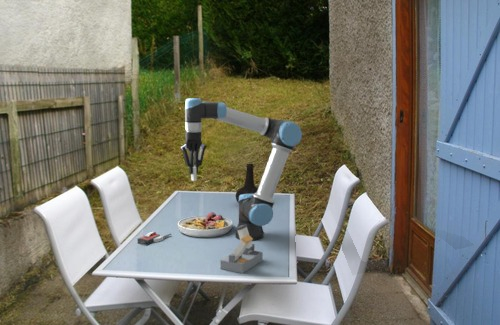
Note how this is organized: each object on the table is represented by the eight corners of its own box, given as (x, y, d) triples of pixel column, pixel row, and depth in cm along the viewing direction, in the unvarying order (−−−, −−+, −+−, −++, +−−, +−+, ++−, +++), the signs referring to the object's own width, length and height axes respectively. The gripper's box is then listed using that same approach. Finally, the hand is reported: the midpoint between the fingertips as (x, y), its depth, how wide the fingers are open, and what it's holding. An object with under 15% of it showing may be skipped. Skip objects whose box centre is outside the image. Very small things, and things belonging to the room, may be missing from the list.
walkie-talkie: (148, 247, 264) (172, 236, 281) (148, 238, 263) (172, 228, 280) (135, 244, 268) (159, 234, 285) (134, 236, 267) (159, 226, 285)
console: (220, 268, 233) (220, 253, 232) (241, 256, 250) (241, 242, 249) (242, 273, 228) (242, 257, 227) (262, 260, 245) (262, 245, 244)
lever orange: (229, 257, 231) (242, 237, 227) (235, 254, 236) (248, 234, 231) (233, 261, 230) (247, 242, 226) (239, 258, 235) (253, 238, 230)
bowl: (224, 241, 275) (224, 226, 273) (169, 237, 281) (169, 222, 279) (237, 225, 304) (238, 212, 303) (187, 222, 310) (187, 209, 308)
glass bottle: (232, 207, 347) (232, 165, 343) (240, 201, 364) (240, 161, 359) (258, 209, 342) (258, 166, 337) (265, 203, 359) (266, 162, 354)
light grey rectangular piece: (243, 253, 241) (235, 228, 242) (249, 249, 246) (241, 225, 246) (248, 252, 240) (241, 226, 240) (254, 248, 245) (246, 224, 245)
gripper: (202, 130, 257) (202, 178, 260) (177, 131, 250) (178, 180, 253) (209, 131, 251) (209, 180, 254) (184, 132, 244) (184, 183, 247)
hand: (193, 180), depth 254 cm, fingers closed
